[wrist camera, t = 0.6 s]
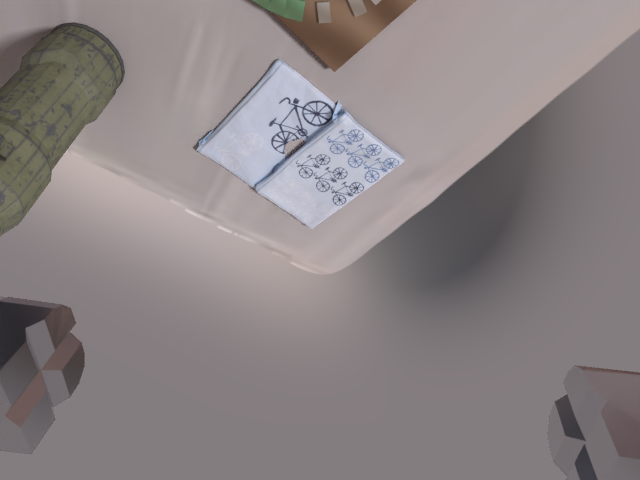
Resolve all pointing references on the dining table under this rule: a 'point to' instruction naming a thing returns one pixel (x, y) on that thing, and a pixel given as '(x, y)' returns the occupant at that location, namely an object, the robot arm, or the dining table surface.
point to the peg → (375, 1)
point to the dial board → (335, 23)
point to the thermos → (50, 110)
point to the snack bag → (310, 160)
